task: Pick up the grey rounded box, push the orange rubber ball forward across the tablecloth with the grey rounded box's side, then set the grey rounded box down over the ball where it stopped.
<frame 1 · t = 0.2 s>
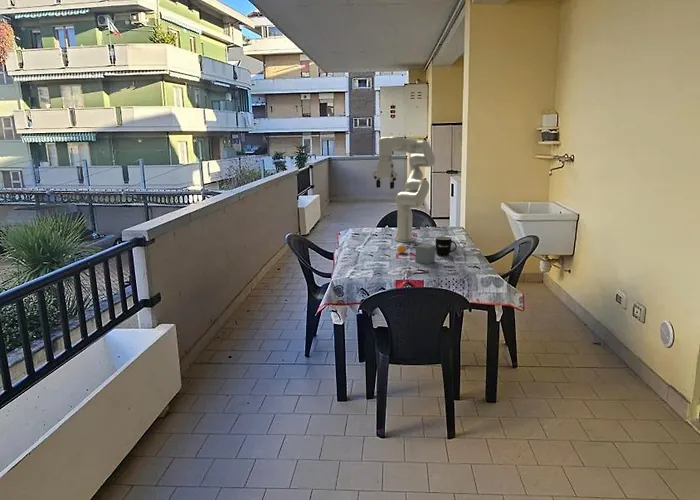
hand: (385, 188, 297), 37 cm above the table, tool pointing down, fingers open, 9 cm apart
grey rounded box: (424, 261, 275), on the table
ball: (401, 249, 292), on the table
mug: (445, 255, 288), on the table
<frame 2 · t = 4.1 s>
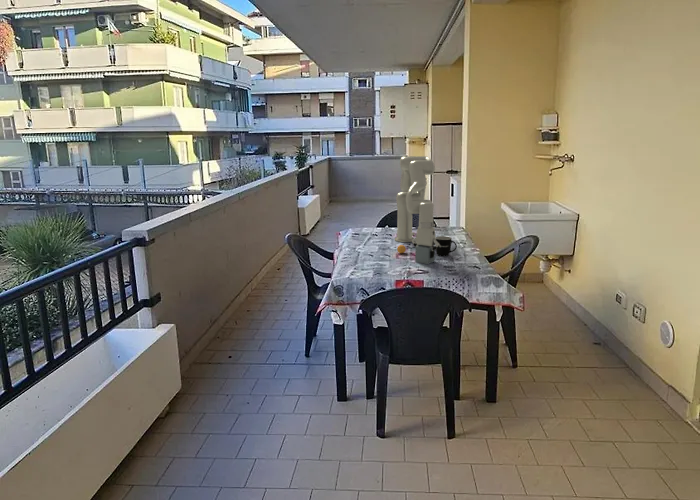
hand: (425, 256, 274), 3 cm above the table, tool pointing down, fingers closed on grey rounded box, 7 cm apart
grey rounded box: (424, 261, 275), on the table, touching gripper
everything else where it was.
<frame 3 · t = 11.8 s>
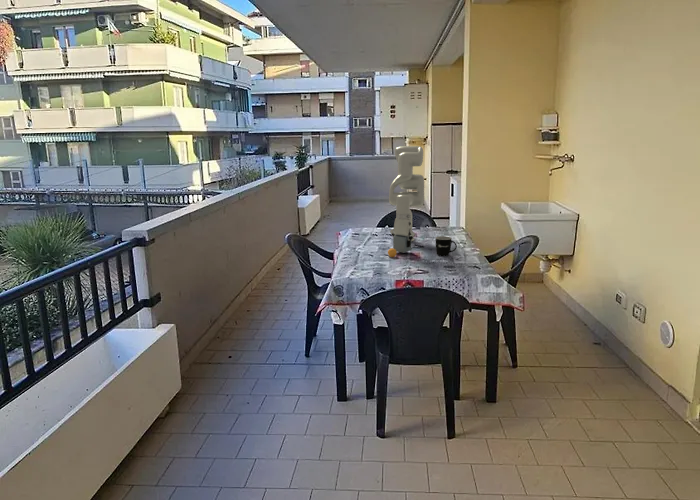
hand: (402, 245, 292), 4 cm above the table, tool pointing down, fingers closed on grey rounded box, 7 cm apart
grey rounded box: (402, 250, 293), point 2 cm above the table, touching gripper
ball: (392, 252, 284), on the table
everything else where it was.
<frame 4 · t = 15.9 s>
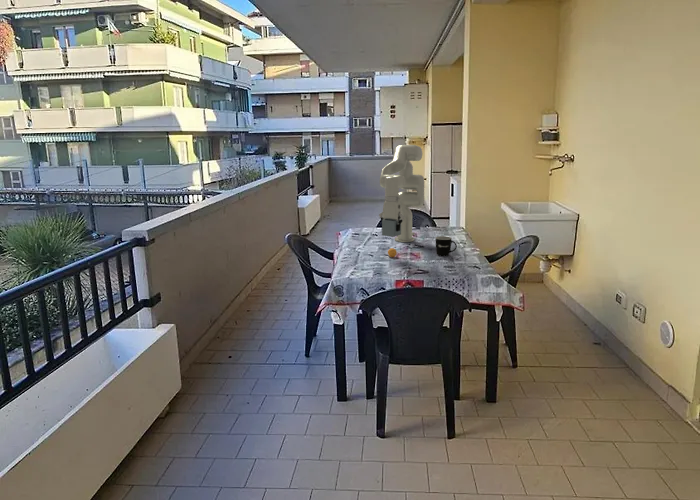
hand: (391, 229, 280), 16 cm above the table, tool pointing down, fingers closed on grey rounded box, 7 cm apart
grey rounded box: (391, 234, 281), point 13 cm above the table, touching gripper
everything else where it was.
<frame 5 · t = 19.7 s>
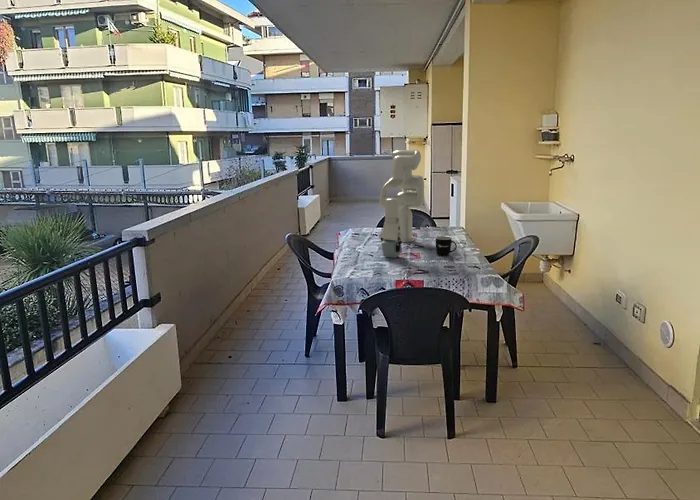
hand: (391, 250, 283), 4 cm above the table, tool pointing down, fingers closed on grey rounded box, 7 cm apart
grey rounded box: (392, 254, 285), point 2 cm above the table, tilted 16°, touching ball, gripper
ball: (393, 252, 285), on the table, touching grey rounded box
everything else where it was.
when the fingers open (3 cm above the table, at t = 20.5 s): grey rounded box drops 1 cm, on the table.
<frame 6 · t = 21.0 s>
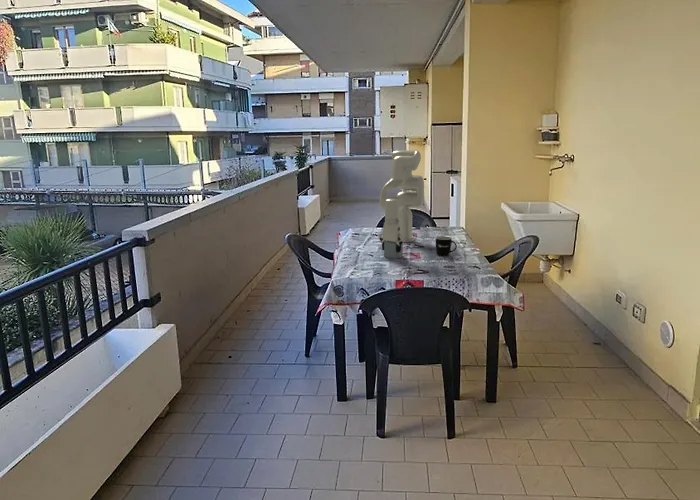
hand: (391, 250, 283), 4 cm above the table, tool pointing down, fingers open, 9 cm apart
grey rounded box: (393, 256, 286), on the table
ball: (393, 252, 285), on the table
everything else where it was.
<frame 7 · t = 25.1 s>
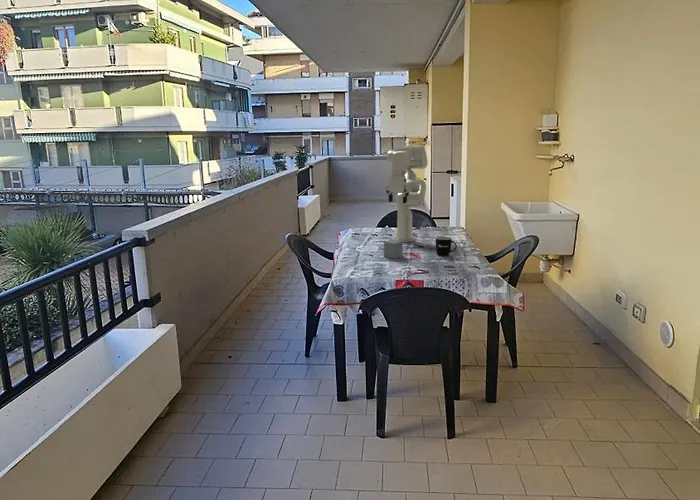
hand: (397, 202, 297), 28 cm above the table, tool pointing down, fingers open, 9 cm apart
nothing on the table moved.
at the end: ball 0.2 cm from the grey rounded box (horizontally); grey rounded box on the table; ball moved 8.7 cm from its start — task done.
